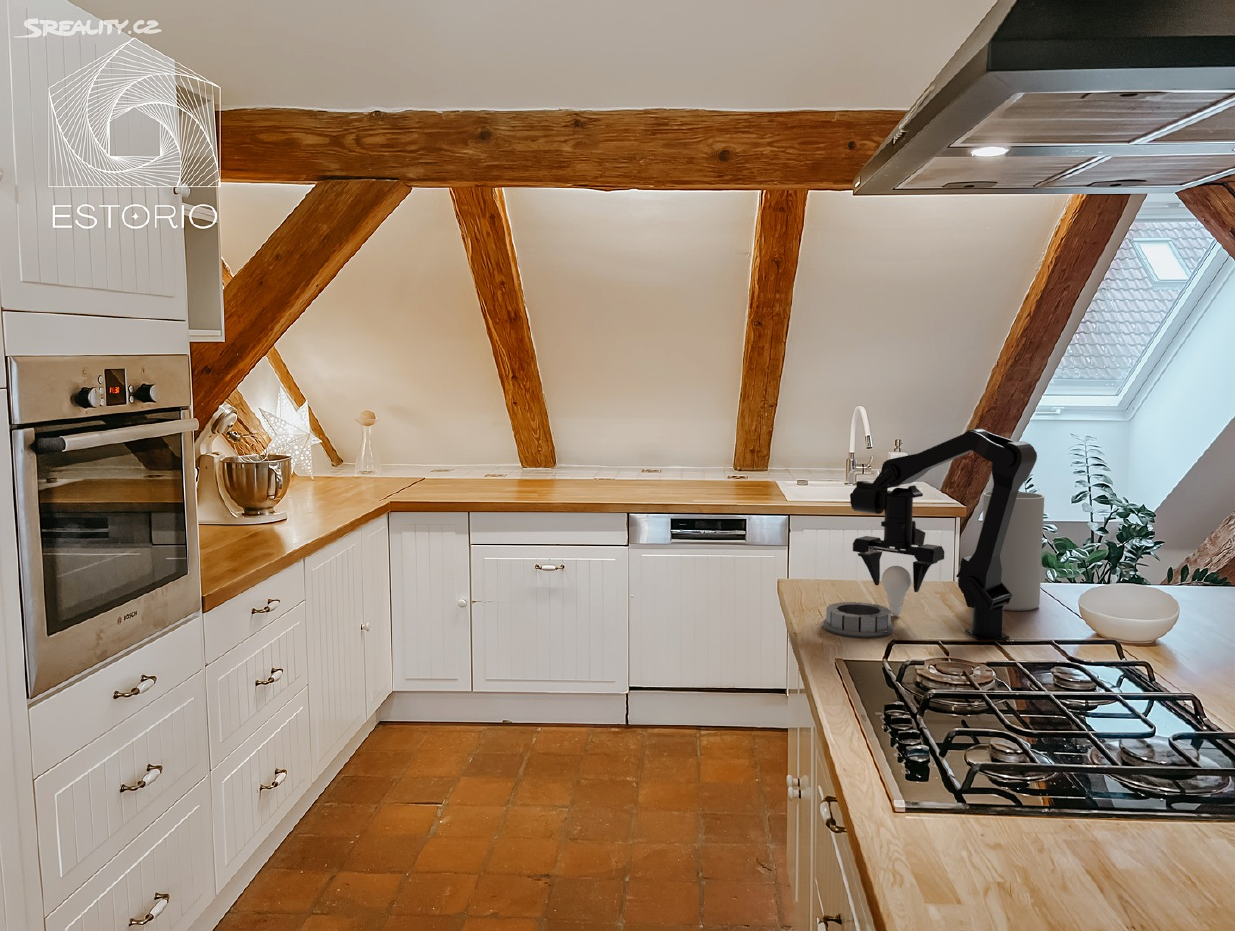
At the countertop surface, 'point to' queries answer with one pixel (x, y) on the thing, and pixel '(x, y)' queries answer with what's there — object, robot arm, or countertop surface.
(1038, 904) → the countertop surface
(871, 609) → the socket
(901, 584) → the lightbulb
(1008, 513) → the robot arm
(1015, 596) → the cylinder vase
